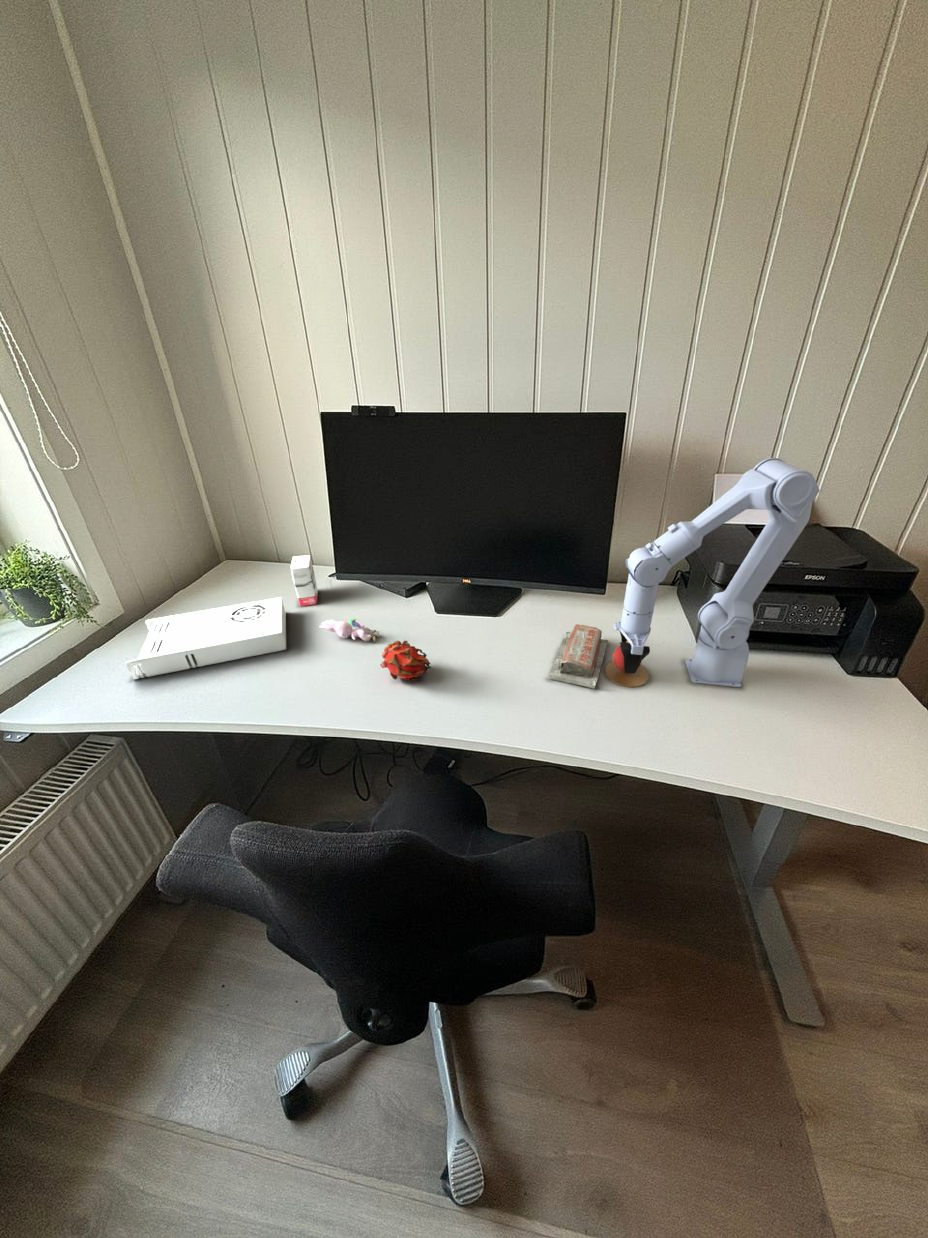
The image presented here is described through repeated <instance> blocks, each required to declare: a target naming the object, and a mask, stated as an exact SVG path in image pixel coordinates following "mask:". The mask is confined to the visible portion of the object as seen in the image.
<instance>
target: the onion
mask: <svg viewBox="0 0 928 1238" xmlns="http://www.w3.org/2000/svg"><path fill="white" fill-rule="evenodd" d="M626 643H629V642H628V641H626ZM612 662H614V664H615V666H616V667H617V668H618V669H619V670H621V671H622V672H623V673H625V672H624V657H623V654H622V652H621V648H620V645H618V646H617V647H616V648H615V649H614V651H613V654H612ZM641 664H642V662H641V663H640V665H641ZM640 665H639V667H640ZM639 667H638V668H639Z"/></svg>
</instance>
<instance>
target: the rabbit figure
mask: <svg viewBox="0 0 928 1238" xmlns="http://www.w3.org/2000/svg"><path fill="white" fill-rule="evenodd" d="M318 628H321V629H325V630H327V631H330V632H332V633H335V634H336V635H337V636H338V637H340V638H342V639H348V638H349V637H351V638H352V639H353V640H354V641H356V638H360V639H361V640H362V641H364V642H369V641H370V640H371V638H372V639H373V642H375V641H376V636H377V637H379V635H380V632H379V631H378V630H376V629H370V628H369V627H366V625H364V624H363V625H361V624H360V623H359V622H357V619H356V618H351V619H349V622H347V621H339V620H336V619H327V620H325V621H323V622H321V625H319V626H318ZM353 628H355V629H353ZM375 633H376V634H377V635H376V636H374V634H375Z"/></svg>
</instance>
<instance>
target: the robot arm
mask: <svg viewBox="0 0 928 1238" xmlns="http://www.w3.org/2000/svg"><path fill="white" fill-rule="evenodd" d="M820 490H821V489H820V487H819V485H818V483H817V481H816V478H815V476H814V475H813V473H811V472H810V471H808V470H805V469H800V468H798V467H796V466H794V465H791V464H789V463H787V462H786V461H784V460H783V459H781V458H778V457H769V458H765V459H763V460H761V461H760V462H758V463H757V464H756V465H755V466H754V467H753V468H751V469H749V470H747V471H745V472H744V473H743V475H742V476H741V477H740V479H739V480H738V482H737V483H736V484H735V485H734V486H733V487H731V488H730V489H729V490H728V491H727V492H725V493H724V494H722V495H721V497H720V498H718V499H717V500H715V501H714V502H713V503H712V504H711V505H710V506H708V507H707V508H706V509H705V510H703V511H702V512H701V513H700V514H699V515H697V516H696V517H695V518H694V519H692V520H691V521H679V522H678V523H677V524H674V523H672V524H671V525H670V526H668V527H667V531H666V532H664V533H663V534H661V535H660V536H659V537H657V538H656V539H655V540H653V541H652V542H648V543H647V544H646V545H645V546H643V547H639V548H636V549H634V550H633V551H632V552H631V553H630V555H629V557H628V558H626V559H625V566H626V568H627V570H628V571H629V573H628V577H627V583H626V588H625V594H624V598H623V599H624V600H623V607H622V612H621V619H620V621H619V622H614V624H613V629H614V630H615V631H619V634H620V638H621V639H620V640H621V641H620V642H619V646H620V648H621V652H622V654H623V657H624V672H625V673H633V674H634V673H635V672H636V671H637V669H638V667H639V665H641V664H642V662H643V660H644V659H645V658H646V657H647V656H649V654H651V653H650V652H651V648H650V647H651V646H647V645H645V644H646V642H647V640H648V637H649V636H650V634H651V631H652V628H651V626H652V625H651V624H652V620H653V615H654V610H655V605H656V601H657V595H658V590H659V589H658V588H659V584H660V583H662V582H663V581H664V580H665V579H666V577H667V575H668V572H669V571H670V570H671V569H672V567H673V566H674V565H676V564H677V563H679V562H681V561H682V560H683V559H685V558H686V557H688V556H690V554H692V553H694V552H695V551H696V550H697V549H699V548H700V547H701V546H702V543H703V539H704V537H705V536H707V535H708V534H710V533H711V532H713V531H714V530H716V529H717V528H719V527H721V526H722V525H724V524H725V523H727V522H729V521H730V520H732V519H734V518H735V517H737V516H739V515H740V514H741V513H743V512H745V511H746V510H747V511H748V510H760V511H761V510H762V511H763V510H766V511H767V513H768V515H769V519H768V521H767V522H766V524H765V525H764V527H763V529H762V530H761V532H760V533H759V535H758V537H757V538H756V540H755V542H754V543H753V545H752V546H751V548H750V549H749V551H748V553H747V555H746V556H745V558H744V559H743V561H742V563H740V566H739V567H738V569H737V571H736V572H735V574H734V575H733V577H732V579H731V580H730V582H729V584H728V585H727V587H726V588H725V590H724V591H720V592H716V593H714V594H713V595H712V597H711V598H710V600H709V601H708V602H706V603H704V605H702V606H701V607H700V609H699V610H698V613H697V619H698V622H699V623H700V624H701V626H700V631H699V633H698V638H697V642H696V644H695V648H694V653H693V656H692V659H691V658H690V659H689V658H687V659H685V664H686V667H687V671H688V675H689V678H690V681H691V683H694V684H701V685H702V684H703V685H711V686H722V687H731V688H732V687H733V688H741V687H742V684H741V683H742V679H743V676H744V673H745V670H746V668H747V665H748V661H749V657H750V656H749V655H750V648H749V644H748V642H747V640H748V639H749V636H750V630H751V627H752V625H753V624H754V622H755V616H754V607H753V606H754V604H755V602H756V601H757V599H758V598H759V596H760V595H761V593H762V592H763V590H764V589H765V587H766V586H767V584H768V583H769V581H770V580H771V579H772V577H773V575H774V574H775V572H777V569H779V566H780V565H781V563H782V562H783V560H784V559H785V557H786V556H787V554H788V553H789V551H790V550H791V548H792V547H793V545H794V544H795V543H796V541H797V539H798V538H799V536H800V535H801V533H802V532H803V531H804V529H805V527H807V524H808V522H809V521H810V519H811V518H810V517H811V513H812V509H813V508H812V507H813V502H814V500H815V499H816V497H817V496H818V494H819V493H820ZM626 641H628V642H629V643H626ZM640 663H641V664H640Z"/></svg>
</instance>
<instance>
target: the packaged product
mask: <svg viewBox="0 0 928 1238" xmlns="http://www.w3.org/2000/svg"><path fill="white" fill-rule="evenodd" d="M602 633H603V631H602V630H601V629H599V628H598V627H596V626H589V625H584V624H577V623H575V624H574V626H573V628H572V630H571V631H565V634H564V636H563V638H562V641H561V643H560V647H559V648H558V651H557V653H556V656H555V659H554V661H553V663H552V666H551V668H550V671H549V673H548V679H549V680H553V681H558V682H563V683H569V684H573V685H578V686H581V687H582V686H583V687H587V688H589V689H593V690H594V689H595V688H596V687H597V682H598V681H599V676H600V671H601V668H602V664H603V662H604V657H605V656H604V655H605V653H606V650H607V645H608V642H609V640H608V639H604V638H602Z"/></svg>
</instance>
